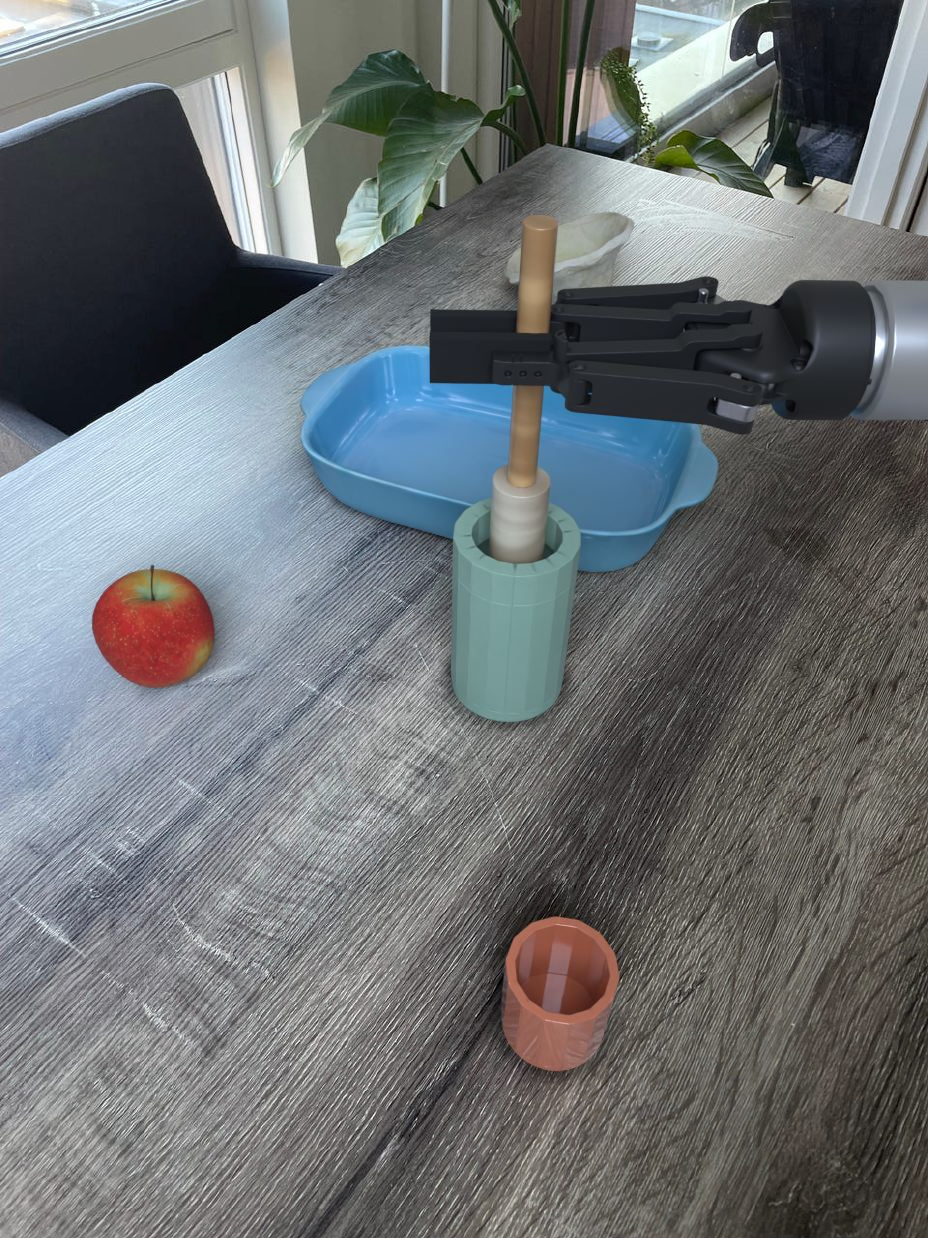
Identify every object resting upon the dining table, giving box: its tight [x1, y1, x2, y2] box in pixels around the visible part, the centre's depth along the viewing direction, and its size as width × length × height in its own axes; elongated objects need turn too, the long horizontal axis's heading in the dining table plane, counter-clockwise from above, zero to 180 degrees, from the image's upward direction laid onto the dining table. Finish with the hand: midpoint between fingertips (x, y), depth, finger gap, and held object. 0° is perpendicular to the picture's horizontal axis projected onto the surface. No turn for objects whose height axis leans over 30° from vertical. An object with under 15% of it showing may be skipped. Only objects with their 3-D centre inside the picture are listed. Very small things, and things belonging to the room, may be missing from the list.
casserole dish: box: [299, 344, 719, 573], centre depth 88 cm, size 37×22×7 cm, turn 70°
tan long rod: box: [489, 214, 559, 564], centre depth 59 cm, size 4×4×24 cm
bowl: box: [503, 211, 635, 305], centre depth 114 cm, size 15×14×10 cm
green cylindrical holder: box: [450, 498, 581, 723], centre depth 69 cm, size 8×8×14 cm
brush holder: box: [500, 916, 620, 1072], centre depth 54 cm, size 6×6×6 cm
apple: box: [91, 564, 216, 689], centre depth 71 cm, size 8×8×10 cm
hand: (430, 346), depth 55 cm, fingers closed on tan long rod, 2 cm apart
